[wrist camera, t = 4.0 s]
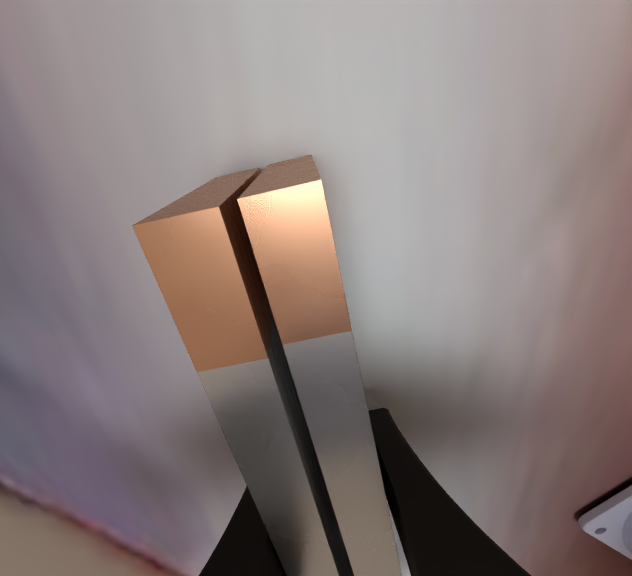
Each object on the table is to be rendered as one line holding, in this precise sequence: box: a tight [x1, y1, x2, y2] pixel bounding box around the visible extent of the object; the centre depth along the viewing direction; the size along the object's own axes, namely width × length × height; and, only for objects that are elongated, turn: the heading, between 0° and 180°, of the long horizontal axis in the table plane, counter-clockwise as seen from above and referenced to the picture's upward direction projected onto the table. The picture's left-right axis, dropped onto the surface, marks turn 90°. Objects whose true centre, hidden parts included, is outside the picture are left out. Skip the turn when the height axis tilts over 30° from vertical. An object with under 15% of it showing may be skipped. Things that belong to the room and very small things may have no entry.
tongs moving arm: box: [132, 168, 354, 576], centre depth 10 cm, size 17×1×5 cm, turn 12°
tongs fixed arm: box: [237, 155, 402, 576], centre depth 11 cm, size 20×3×6 cm, turn 13°
